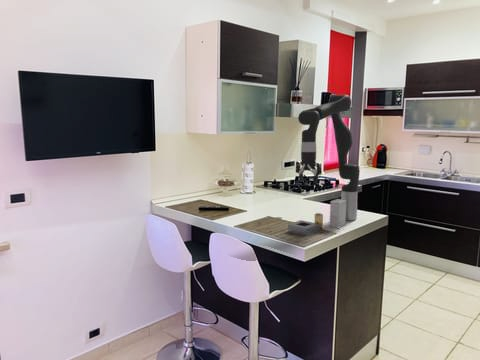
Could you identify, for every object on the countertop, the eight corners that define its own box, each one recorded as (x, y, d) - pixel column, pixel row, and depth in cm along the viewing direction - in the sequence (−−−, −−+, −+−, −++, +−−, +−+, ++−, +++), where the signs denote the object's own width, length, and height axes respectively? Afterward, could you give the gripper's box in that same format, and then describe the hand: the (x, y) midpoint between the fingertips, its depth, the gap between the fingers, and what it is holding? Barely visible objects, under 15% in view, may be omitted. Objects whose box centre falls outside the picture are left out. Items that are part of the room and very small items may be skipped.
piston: (317, 227, 216) (317, 212, 215) (324, 228, 213) (324, 214, 212) (312, 228, 213) (313, 214, 212) (319, 230, 210) (320, 215, 209)
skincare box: (336, 223, 223) (337, 198, 221) (346, 225, 219) (346, 199, 217) (329, 226, 217) (329, 200, 215) (338, 228, 213) (339, 202, 211)
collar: (300, 227, 216) (300, 220, 216) (319, 231, 208) (319, 224, 207) (287, 231, 208) (287, 224, 207) (306, 236, 200) (306, 228, 199)
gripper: (324, 150, 192) (324, 182, 195) (301, 149, 202) (301, 179, 205) (316, 152, 187) (316, 184, 190) (292, 150, 197) (292, 181, 200)
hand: (308, 182), depth 197 cm, fingers open, 8 cm apart
